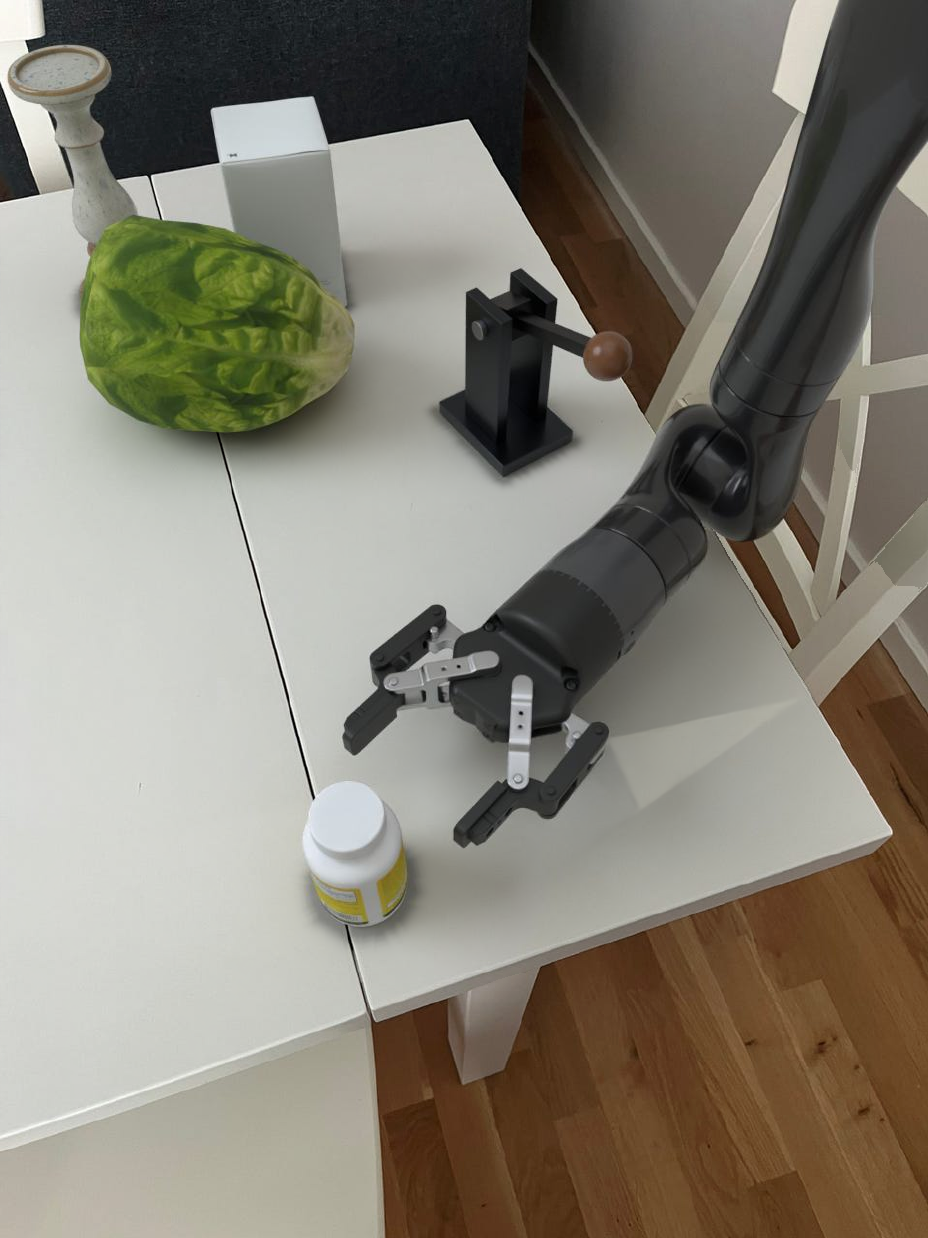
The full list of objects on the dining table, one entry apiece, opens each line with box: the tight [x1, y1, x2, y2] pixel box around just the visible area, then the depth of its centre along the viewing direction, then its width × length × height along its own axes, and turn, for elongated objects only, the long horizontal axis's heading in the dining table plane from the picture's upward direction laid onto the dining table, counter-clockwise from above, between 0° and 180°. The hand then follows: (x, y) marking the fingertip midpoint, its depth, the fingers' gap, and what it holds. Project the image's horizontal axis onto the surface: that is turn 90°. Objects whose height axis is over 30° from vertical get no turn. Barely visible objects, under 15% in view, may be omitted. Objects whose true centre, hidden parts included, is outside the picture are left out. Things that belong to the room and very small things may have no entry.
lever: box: [489, 290, 633, 383], centre depth 68 cm, size 14×3×3 cm, turn 35°
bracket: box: [438, 267, 574, 477], centre depth 76 cm, size 9×7×13 cm
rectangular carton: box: [210, 96, 348, 308], centre depth 86 cm, size 9×9×15 cm
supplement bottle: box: [301, 780, 409, 928], centre depth 55 cm, size 5×5×10 cm
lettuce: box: [79, 215, 356, 434], centre depth 77 cm, size 16×21×15 cm
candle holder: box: [7, 44, 139, 301], centre depth 83 cm, size 9×9×20 cm
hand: (401, 791), depth 55 cm, fingers open, 8 cm apart
